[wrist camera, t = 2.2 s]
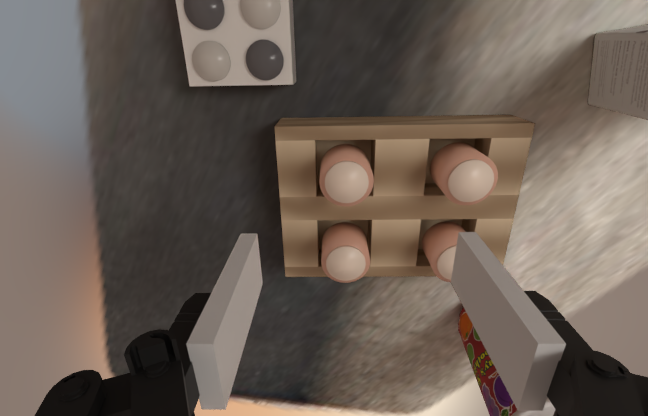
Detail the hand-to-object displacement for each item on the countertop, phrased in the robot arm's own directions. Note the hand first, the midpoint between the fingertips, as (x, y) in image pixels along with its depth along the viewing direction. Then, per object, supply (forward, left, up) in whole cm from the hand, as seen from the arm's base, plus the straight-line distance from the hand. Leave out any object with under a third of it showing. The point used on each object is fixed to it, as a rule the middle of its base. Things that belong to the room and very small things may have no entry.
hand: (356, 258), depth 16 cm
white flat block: (-10, -8, -17) cm, 22 cm away
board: (+3, +5, -17) cm, 18 cm away
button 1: (0, 0, -14) cm, 14 cm away
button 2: (+7, 0, -14) cm, 16 cm away
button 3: (0, +9, -14) cm, 17 cm away
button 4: (+7, +9, -14) cm, 18 cm away
